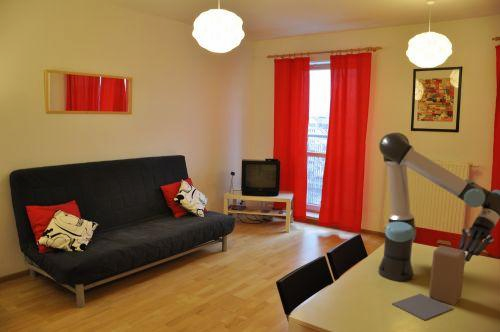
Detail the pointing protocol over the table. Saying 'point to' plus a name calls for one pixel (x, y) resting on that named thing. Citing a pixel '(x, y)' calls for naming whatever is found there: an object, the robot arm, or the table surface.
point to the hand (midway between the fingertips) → (459, 265)
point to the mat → (422, 306)
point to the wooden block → (447, 274)
